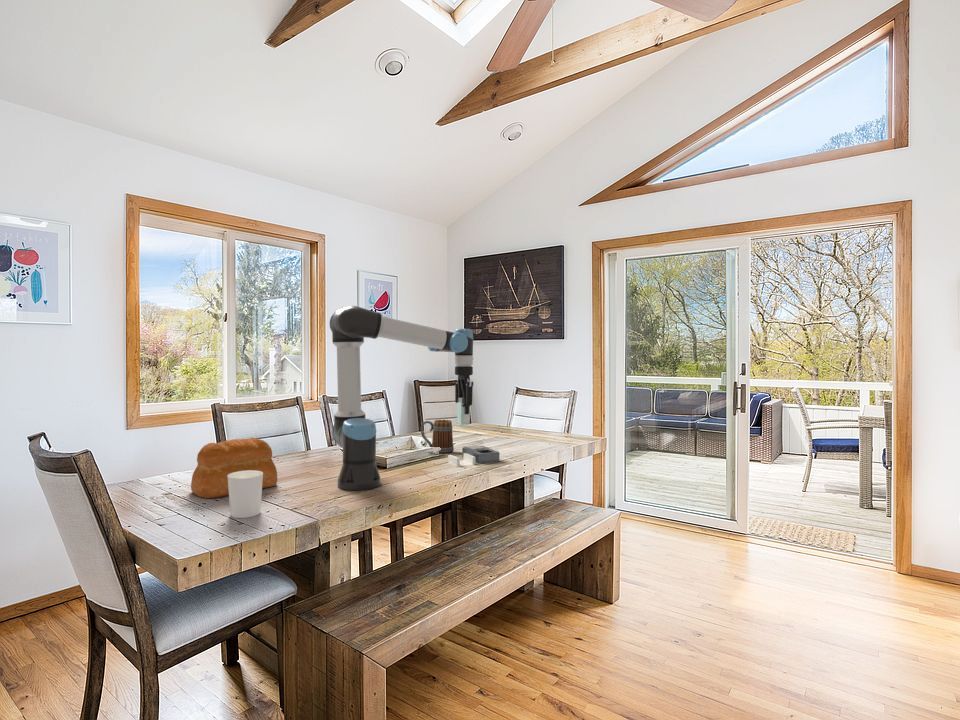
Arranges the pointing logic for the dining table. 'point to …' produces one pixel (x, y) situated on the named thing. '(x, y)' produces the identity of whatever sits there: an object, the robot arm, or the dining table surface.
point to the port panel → (482, 454)
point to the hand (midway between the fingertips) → (463, 421)
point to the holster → (466, 461)
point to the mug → (440, 435)
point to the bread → (231, 465)
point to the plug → (461, 413)
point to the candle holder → (245, 493)
